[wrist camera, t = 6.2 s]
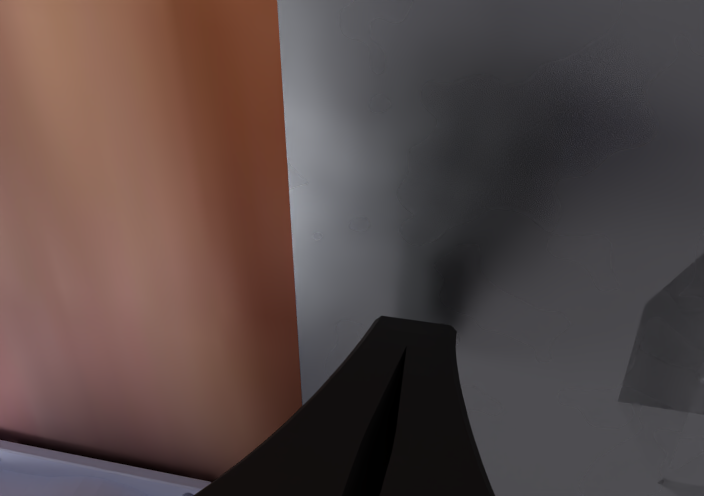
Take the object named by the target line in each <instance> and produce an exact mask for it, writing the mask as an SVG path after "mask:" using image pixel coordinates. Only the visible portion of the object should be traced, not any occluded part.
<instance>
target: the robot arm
mask: <svg viewBox="0 0 704 496" xmlns="http://www.w3.org/2000/svg"><path fill="white" fill-rule="evenodd" d="M456 335H457V331H456V330H455V329H454V328H453V327H452V326H451V325H446V324H439V323H431V322H424V321H417V320H410V319H403V318H395V317H388V316H380V317H379V318H377V319H376V320H375V321H374V322H373V324H372V325H371V327H370V328H369V329H368V331H367V332H366V334H365V335H364V336H363V338H362V339H361V340H360V342H359V343H358V344H357V345H356V347H355V348H354V349H353V350H352V352H351V353H350V354H349V355H348V357H347V358H346V359H345V360H344V361H343V363H342V364H341V365H340V366H339V367H338V368H337V369H336V371H335V372H334V373H333V374H332V375H331V376H330V377H329V378H328V379H327V381H326V382H325V383H324V384H323V385H322V386H321V387H320V388H319V389H318V391H317V392H316V393H315V394H314V395H313V396H312V397H311V398H310V399H309V400H308V401H307V402H306V403H305V404H304V405H303V406H302V407H301V408H300V409H299V410H298V411H297V412H296V413H295V414H294V415H293V416H292V417H291V418H290V419H289V420H287V421H286V422H285V423H284V424H283V425H282V426H281V427H280V428H279V429H278V430H277V431H276V432H274V433H273V434H272V435H271V436H270V437H269V438H268V439H267V440H265V441H264V442H263V443H262V444H261V445H259V446H258V447H257V448H256V449H255V450H253V451H252V452H251V453H250V454H249V455H247V456H246V457H245V458H244V459H242V460H241V461H240V462H239V463H237V464H236V465H235V466H233V467H232V468H231V469H229V470H228V471H227V472H225V473H224V474H223V475H221V476H220V477H219V478H217V479H216V480H214V481H213V482H209V481H204V480H199V479H194V478H189V477H184V476H179V475H174V474H169V473H164V472H159V471H154V470H149V469H144V468H139V467H134V466H129V465H124V464H119V463H114V462H109V461H104V460H99V459H94V458H89V457H84V456H79V455H74V454H69V453H64V452H59V451H54V450H49V449H44V448H39V447H34V446H29V445H24V444H19V443H14V442H9V441H4V440H0V496H495V494H494V492H493V489H492V487H491V484H490V482H489V479H488V476H487V474H486V471H485V468H484V465H483V463H482V460H481V457H480V454H479V451H478V448H477V445H476V442H475V439H474V435H473V432H472V429H471V425H470V422H469V418H468V414H467V410H466V406H465V402H464V398H463V394H462V389H461V384H460V379H459V373H458V366H457V358H456Z"/></svg>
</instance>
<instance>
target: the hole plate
mask: <svg viewBox="0 0 704 496" xmlns="http://www.w3.org/2000/svg"><path fill="white" fill-rule="evenodd" d="M277 3H278V19H279V35H280V51H281V67H282V83H283V100H284V116H285V132H286V148H287V164H288V180H289V196H290V213H291V229H292V245H293V261H294V277H295V293H296V310H297V326H298V342H299V358H300V374H301V390H302V406H303V405H304V404H305V403H306V402H307V401H308V400H309V399H310V398H311V397H312V396H313V395H314V394H315V393H316V392H317V391H318V389H319V388H320V387H321V386H322V385H323V384H324V383H325V382H326V381H327V379H328V378H329V377H330V376H331V375H332V374H333V373H334V372H335V371H336V369H337V368H338V367H339V366H340V365H341V364H342V363H343V361H344V360H345V359H346V358H347V357H348V355H349V354H350V353H351V352H352V350H353V349H354V348H355V347H356V345H357V344H358V343H359V342H360V340H361V339H362V338H363V336H364V335H365V334H366V332H367V331H368V329H369V328H370V327H371V325H372V324H373V322H374V321H375V320H376V319H377V318H379V317H380V316H388V317H395V318H403V319H410V320H417V321H424V322H431V323H439V324H446V325H451V326H452V327H453V328H454V329H455V330H456V331H457V335H456V358H457V366H458V373H459V379H460V384H461V389H462V394H463V398H464V402H465V406H466V410H467V414H468V418H469V422H470V425H471V429H472V432H473V435H474V439H475V442H476V445H477V448H478V451H479V454H480V457H481V460H482V463H483V465H484V468H485V471H486V474H487V476H488V479H489V482H490V484H491V487H492V489H493V492H494V494H495V496H704V0H277Z"/></svg>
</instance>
